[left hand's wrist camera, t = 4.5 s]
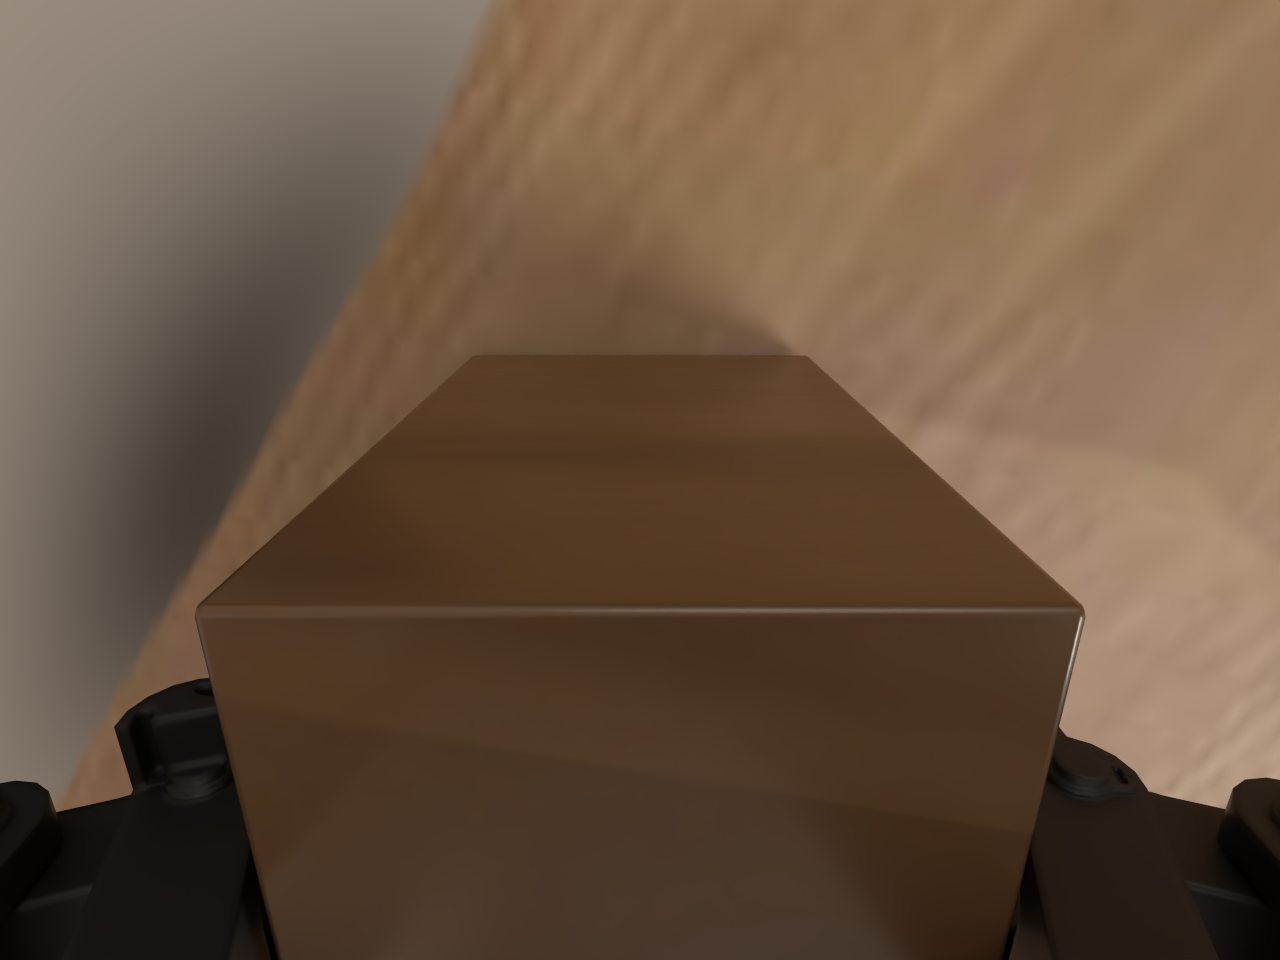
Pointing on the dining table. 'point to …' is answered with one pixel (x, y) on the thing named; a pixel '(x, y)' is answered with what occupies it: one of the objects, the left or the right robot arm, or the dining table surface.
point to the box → (640, 680)
